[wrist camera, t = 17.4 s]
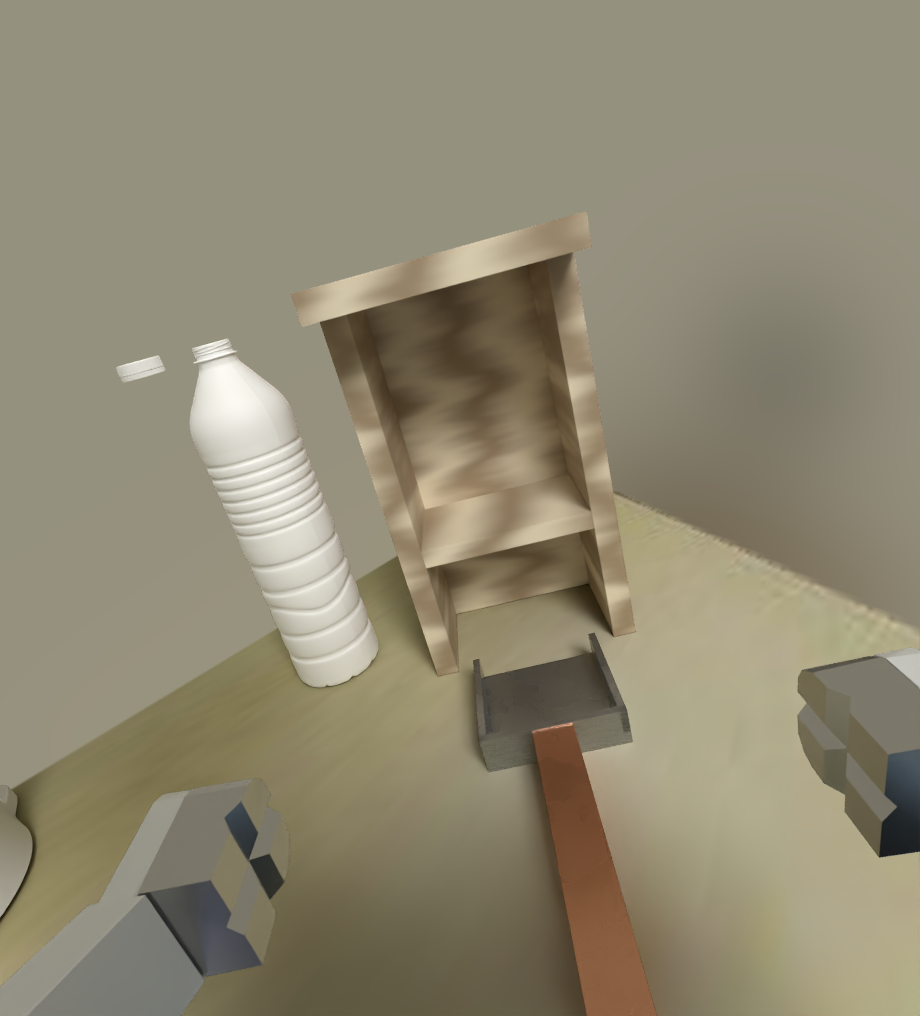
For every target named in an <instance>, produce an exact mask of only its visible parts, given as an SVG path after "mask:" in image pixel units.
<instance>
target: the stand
mask: <svg viewBox="0 0 920 1016" xmlns="http://www.w3.org/2000/svg"><path fill="white" fill-rule="evenodd" d="M590 247H592V245H591V239H590V232H589V225H588V218H587V212H582V213H579V214H575V215H571V216H568V217H564V218H561V219H557V220H554V221H550V222H546V223H543V224H540V225H536V226H532V227H529V228H526V229H522V230H518V231H514V232H511V233H507V234H504V235H500V236H497V237H493V238H489V239H486V240H482V241H479V242H475V243H472V244H468V245H464V246H461V247H458V248H454V249H451V250H447V251H443V252H440V253H436V254H433V255H429V256H425V257H422V258H418V259H415V260H411V261H408V262H404V263H400V264H397V265H393V266H390V267H386V268H382V269H379V270H376V271H372V272H368V273H364V274H361V275H357V276H354V277H351V278H347V279H343V280H340V281H336V282H332V283H329V284H325V285H322V286H318V287H315V288H311V289H307V290H304V291H301V292H297V293H293V294H291V297H292V300H293V302H294V305H295V308H296V311H297V314H298V317H299V320H300V323H301V326H302V327H303V326H307V325H310V324H314V323H318V322H320V324H321V327H322V330H323V333H324V336H325V339H326V342H327V345H328V348H329V351H330V354H331V357H332V360H333V363H334V366H335V369H336V372H337V375H338V378H339V381H340V384H341V387H342V390H343V393H344V396H345V399H346V402H347V405H348V408H349V411H350V414H351V417H352V420H353V423H354V426H355V429H356V432H357V435H358V438H359V441H360V444H361V447H362V450H363V453H364V456H365V459H366V462H367V465H368V468H369V471H370V474H371V477H372V480H373V483H374V486H375V489H376V492H377V495H378V498H379V501H380V504H381V507H382V510H383V513H384V516H385V519H386V522H387V525H388V528H389V531H390V534H391V537H392V540H393V543H394V546H395V549H396V552H397V555H398V558H399V561H400V564H401V567H402V570H403V573H404V576H405V579H406V582H407V585H408V588H409V591H410V594H411V597H412V600H413V603H414V606H415V609H416V612H417V615H418V618H419V621H420V624H421V627H422V630H423V633H424V636H425V639H426V642H427V645H428V648H429V651H430V654H431V657H432V660H433V663H434V666H435V669H436V672H437V675H438V676H441V675H445V674H450V673H454V672H458V671H459V667H458V636H457V614H459V613H463V612H468V611H472V610H476V609H481V608H485V607H489V606H494V605H498V604H502V603H506V602H511V601H515V600H519V599H524V598H528V597H532V596H537V595H541V594H545V593H550V592H554V591H558V590H563V589H567V588H571V587H576V586H580V585H584V584H590V586H591V588H592V591H593V593H594V595H595V597H596V599H597V601H598V603H599V606H600V608H601V610H602V612H603V614H604V616H605V618H606V621H607V623H608V625H609V627H610V629H611V631H612V633H613V636H614V637H615V636H619V635H624V634H628V633H633V632H636V630H635V624H634V618H633V612H632V606H631V600H630V594H629V588H628V581H627V575H626V569H625V563H624V557H623V551H622V545H621V538H620V532H619V526H618V520H617V514H616V508H615V502H614V495H613V489H612V484H611V478H610V471H609V465H608V459H607V452H606V446H605V440H604V434H603V428H602V422H601V416H600V410H599V404H598V397H597V391H596V385H595V379H594V373H593V367H592V361H591V354H590V348H589V342H588V336H587V330H586V324H585V317H584V311H583V305H582V299H581V293H580V287H579V281H578V274H577V268H576V262H575V256H574V252H575V251H579V250H583V249H586V248H590Z"/></svg>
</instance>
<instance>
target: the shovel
mask: <svg viewBox="0 0 920 1016" xmlns="http://www.w3.org/2000/svg"><path fill="white" fill-rule="evenodd" d="M588 635H589V640H590V645H591V650H592V653H589V654H585V655H580V656H576V657H572V658H567V659H563V660H558V661H554V662H549V663H545V664H540V665H536V666H532V667H527V668H523V669H518V670H514V671H509V672H505V673H500V674H496V675H492V676H487V677H484V674H483V670H482V667H481V664H480V660H479V659H477V660H473V665H474V679H475V692H476V706H477V720H478V733H479V743H480V746H481V749H482V753H483V756H484V759H485V762H486V765H487V768H488V771H489V772H493V771H498V770H503V769H507V768H512V767H517V766H521V765H526V764H531V763H536V762H538V764H539V769H540V774H541V779H542V784H543V790H544V795H545V800H546V805H547V810H548V816H549V821H550V826H551V831H552V836H553V842H554V847H555V852H556V857H557V863H558V868H559V873H560V878H561V883H562V889H563V894H564V899H565V904H566V909H567V915H568V920H569V925H570V930H571V935H572V941H573V946H574V951H575V956H576V961H577V967H578V972H579V977H580V982H581V988H582V993H583V998H584V1003H585V1008H586V1014H587V1016H657V1014H656V1011H655V1007H654V1004H653V1000H652V997H651V993H650V990H649V986H648V983H647V979H646V976H645V972H644V969H643V965H642V962H641V958H640V955H639V951H638V948H637V945H636V941H635V938H634V934H633V931H632V927H631V924H630V920H629V917H628V913H627V910H626V906H625V903H624V899H623V896H622V892H621V889H620V885H619V882H618V878H617V875H616V871H615V868H614V864H613V861H612V857H611V854H610V850H609V847H608V843H607V840H606V836H605V833H604V829H603V826H602V822H601V819H600V815H599V812H598V809H597V805H596V802H595V798H594V795H593V791H592V788H591V784H590V781H589V777H588V774H587V770H586V767H585V763H584V760H583V756H582V753H583V752H588V751H593V750H597V749H602V748H607V747H612V746H616V745H621V744H626V743H631V742H633V740H632V735H631V729H630V724H629V718H628V713H627V709H626V707H625V704H624V702H623V699H622V697H621V695H620V692H619V690H618V688H617V685H616V683H615V680H614V678H613V676H612V673H611V671H610V669H609V666H608V664H607V661H606V659H605V657H604V654H603V652H602V649H601V647H600V645H599V642H598V640H597V638H596V635H595V633H591V634H588Z"/></svg>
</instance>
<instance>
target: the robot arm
mask: <svg viewBox="0 0 920 1016" xmlns="http://www.w3.org/2000/svg"><path fill="white" fill-rule="evenodd" d="M798 693H799V694H800V695H801V696H802V698H803V699H804V700H805V701H806V702H807V704H806V705H805V706H804V708H803V709H802V710H801V711H800V713H799V714H798V715H797V716H798V734H799V737H800V740H801V743H802V747H803V750H804V753H805V755H806V756H807V758H808V760H809V762H810V764H811V766H812V768H813V769H814V770H815V772H816V773H817V775H818V776H819V777H820V779H821V780H822V782H823V783H824V784H826V785H828V786H830V787H832V788H833V789H835V790H837V791H839V792H841V793H843V794H845V813H846V814H847V815H848V817H849V818H850V819H851V821H852V822H853V823H854V825H855V826H856V827H857V829H858V830H859V832H860V833H861V834H862V836H863V837H864V838H865V840H866V841H867V842H868V844H869V845H870V846H871V848H872V849H873V850H874V852H875V853H876V854H877V856H878V857H879V858H880V857H887V856H894V855H901V854H907V853H914V852H920V650H918V649H915V648H912V647H910V648H905V649H900V650H895V651H891V652H886V653H881V654H876V655H874V656H867V657H862V658H857V659H853V660H848V661H843V662H838V663H833V664H828V665H824V666H819V667H814V668H809V669H804V670H802V671H801V673H800V675H799V677H798ZM270 795H271V794H270V792H269V790H268V788H267V787H266V785H265V783H264V781H263V780H262V779H256V778H252V779H247V780H241V781H235V782H229V783H223V784H217V785H211V786H205V787H199V788H194V789H192V790H186V791H180V792H174V793H168V794H163V795H162V796H161V797H160V798H158V799H157V800H156V801H155V802H154V803H153V804H152V806H151V808H150V810H149V812H148V813H147V815H146V817H145V819H144V821H143V823H142V824H141V826H140V828H139V830H138V832H137V833H136V835H135V837H134V839H133V841H132V843H131V844H130V846H129V848H128V850H127V852H126V854H125V855H124V857H123V859H122V861H121V863H120V864H119V866H118V868H117V870H116V872H115V874H114V875H113V877H112V879H111V881H110V883H109V885H108V886H107V888H106V890H105V892H104V894H103V895H102V897H101V899H100V901H99V903H97V904H92V905H88V906H87V907H86V908H84V909H83V910H82V911H81V912H80V913H79V914H78V915H77V916H76V917H75V918H74V919H73V920H72V921H71V922H69V923H68V924H67V925H66V926H65V927H64V928H63V929H62V930H61V931H60V932H59V933H58V934H57V935H56V936H54V937H53V938H52V939H51V940H50V941H49V942H48V943H47V944H46V945H45V946H44V947H43V948H42V949H40V950H39V951H38V952H37V953H36V954H35V955H34V956H33V957H32V958H31V959H30V960H29V961H28V962H27V963H25V964H24V965H23V966H22V967H21V968H20V969H19V970H18V971H17V972H16V973H15V974H14V975H13V976H12V977H10V978H9V979H8V980H7V981H6V982H5V983H4V984H3V985H2V986H1V987H0V1016H181V1015H182V1013H183V1012H184V1010H185V1009H186V1008H187V1006H188V1005H189V1003H190V1002H191V1000H192V999H193V997H194V996H195V995H196V993H197V992H198V990H199V989H200V987H201V986H202V985H203V983H204V981H205V980H204V978H203V977H208V976H212V975H217V974H222V973H227V972H232V971H237V970H241V969H246V968H251V967H256V966H261V965H263V963H264V959H265V955H266V951H267V948H268V944H269V940H270V936H271V932H272V929H273V925H274V921H275V917H276V912H275V909H274V907H273V905H272V902H271V898H272V897H273V896H274V895H275V893H276V892H277V891H278V890H279V888H280V887H281V886H282V885H283V883H284V882H285V878H286V874H287V870H288V866H289V854H290V839H289V835H288V830H287V826H286V824H285V822H284V820H283V817H282V815H281V814H279V813H278V812H276V811H274V810H273V809H271V808H269V807H267V804H268V801H269V798H270ZM16 808H17V795H16V794H15V793H14V792H13V791H12V790H11V789H10V788H9V787H7V786H5V785H1V786H0V917H1V916H2V914H3V913H4V911H5V910H6V908H7V907H8V905H9V904H10V902H11V900H12V899H13V897H14V895H15V894H16V892H17V890H18V888H19V886H20V884H21V882H22V880H23V878H24V876H25V874H26V871H27V869H28V866H29V863H30V859H31V855H32V845H33V844H32V837H31V834H30V832H29V830H28V829H27V827H26V826H24V825H23V824H22V823H21V822H20V821H19V820H18V819H17V818H16V816H15V814H16Z"/></svg>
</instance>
